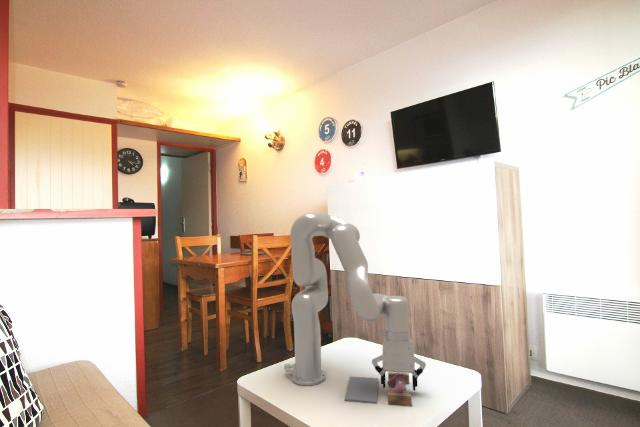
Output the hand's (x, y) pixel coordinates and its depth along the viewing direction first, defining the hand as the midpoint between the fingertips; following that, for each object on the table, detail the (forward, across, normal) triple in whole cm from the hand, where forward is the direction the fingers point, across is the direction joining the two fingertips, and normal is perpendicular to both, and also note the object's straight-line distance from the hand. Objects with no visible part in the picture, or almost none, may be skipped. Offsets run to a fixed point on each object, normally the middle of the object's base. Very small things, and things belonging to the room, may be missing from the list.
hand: (399, 387), depth 112 cm
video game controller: (+2, -1, 0) cm, 2 cm away
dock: (+2, 0, 0) cm, 2 cm away
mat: (+2, -12, 0) cm, 12 cm away
